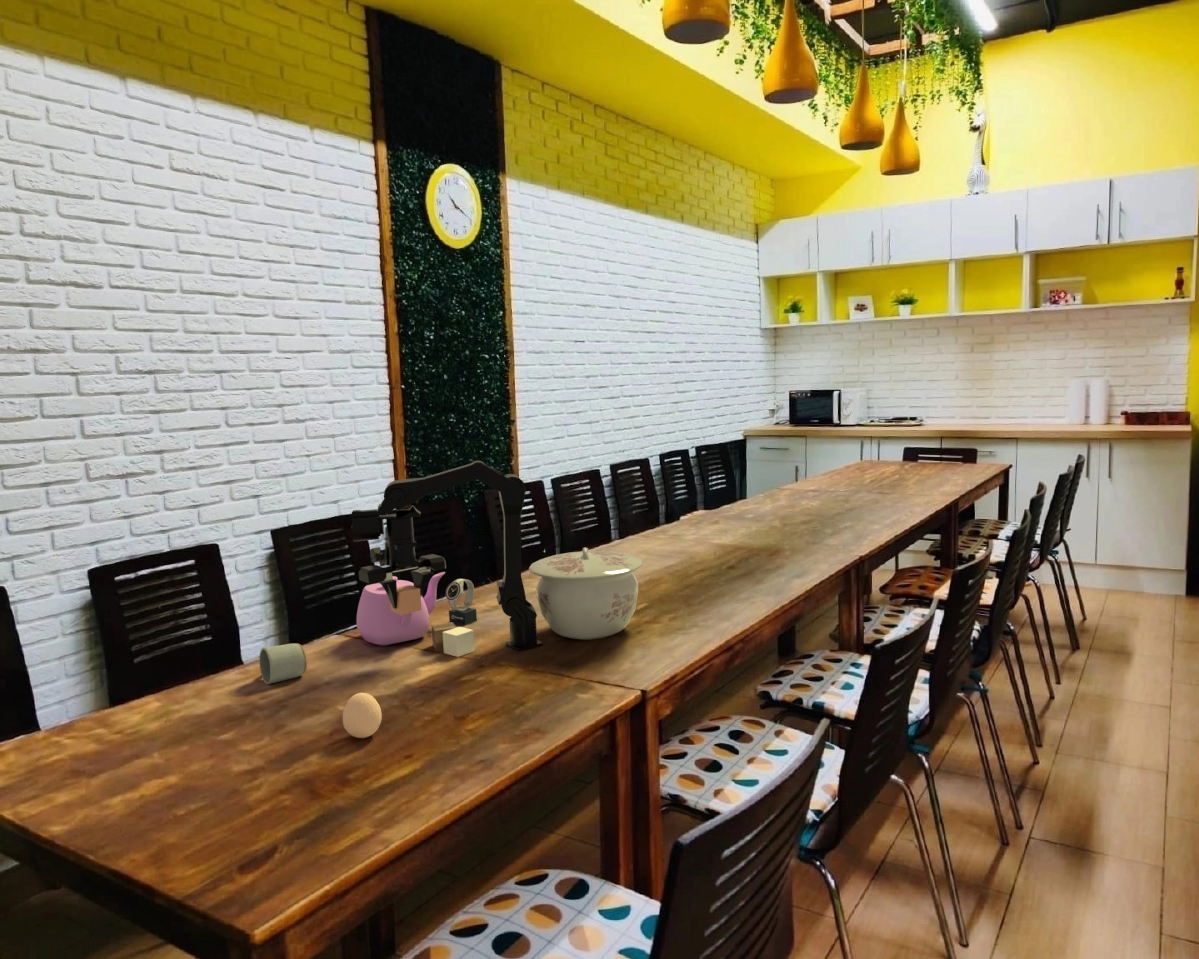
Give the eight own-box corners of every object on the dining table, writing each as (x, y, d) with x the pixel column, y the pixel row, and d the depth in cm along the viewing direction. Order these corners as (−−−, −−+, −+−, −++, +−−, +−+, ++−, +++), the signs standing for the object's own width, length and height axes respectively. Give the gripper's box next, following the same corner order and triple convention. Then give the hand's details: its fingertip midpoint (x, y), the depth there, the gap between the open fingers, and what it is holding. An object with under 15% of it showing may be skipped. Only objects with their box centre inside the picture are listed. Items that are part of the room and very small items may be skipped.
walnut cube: (457, 648, 200) (456, 627, 199) (436, 651, 198) (434, 630, 198) (454, 642, 205) (452, 622, 204) (432, 645, 203) (431, 625, 202)
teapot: (378, 657, 196) (373, 593, 194) (349, 636, 213) (344, 576, 211) (470, 637, 208) (466, 576, 206) (435, 618, 226) (431, 562, 224)
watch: (444, 624, 220) (441, 582, 218) (465, 616, 226) (463, 575, 225) (460, 627, 217) (457, 584, 215) (481, 619, 223) (479, 577, 222)
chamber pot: (578, 658, 189) (573, 565, 186) (510, 632, 210) (505, 549, 208) (671, 630, 206) (668, 545, 203) (600, 608, 227) (596, 531, 225)
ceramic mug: (310, 678, 184) (307, 643, 183) (271, 688, 179) (268, 652, 178) (292, 667, 192) (289, 634, 191) (254, 676, 187) (251, 642, 186)
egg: (344, 747, 148) (340, 703, 147) (344, 732, 155) (340, 689, 154) (384, 741, 150) (380, 697, 149) (382, 726, 156) (379, 684, 155)
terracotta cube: (421, 610, 193) (420, 588, 192) (401, 614, 190) (399, 592, 189) (411, 606, 197) (409, 584, 196) (391, 610, 194) (389, 589, 193)
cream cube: (475, 651, 197) (473, 630, 197) (457, 657, 194) (456, 635, 193) (461, 647, 201) (459, 626, 200) (443, 653, 197) (442, 632, 196)
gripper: (421, 527, 203) (426, 591, 205) (345, 539, 192) (351, 608, 194) (444, 532, 195) (449, 600, 197) (366, 546, 183) (372, 617, 185)
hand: (406, 605), depth 193 cm, fingers closed on terracotta cube, 5 cm apart
